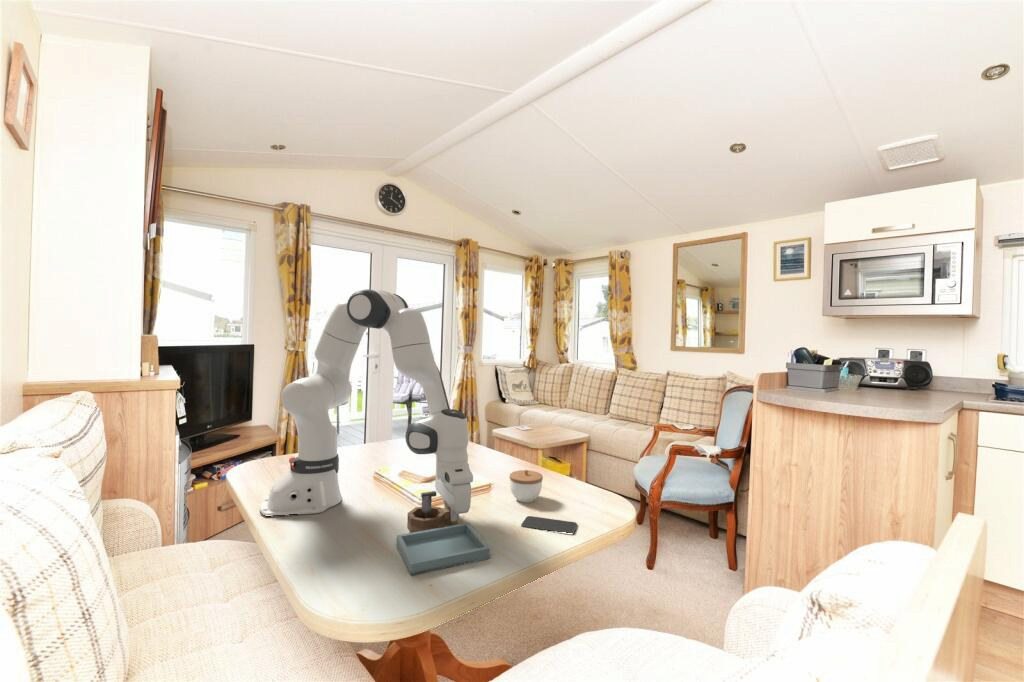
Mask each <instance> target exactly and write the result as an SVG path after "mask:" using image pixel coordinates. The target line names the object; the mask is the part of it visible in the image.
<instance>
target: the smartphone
mask: <svg viewBox="0 0 1024 682" xmlns="http://www.w3.org/2000/svg"><path fill="white" fill-rule="evenodd" d="M576 526H577V527H578V523H577V522H575V521H568V520H561V519H554V518H547V517H542V516H541V517H540V516H532V515H527V516H526V517H525V519H524V520H523V521H522V523H521V526H520V527H522V528H525V529H530V530H531V529H532V530H533V529H534V530H537V529H538V531H543V530H547V531H546V532H549V531H557V532H566V533H573V532H574V531H575V532H576V530H575V528H576ZM576 529H577V528H576Z"/></svg>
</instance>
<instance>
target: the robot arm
mask: <svg viewBox="0 0 1024 682" xmlns="http://www.w3.org/2000/svg"><path fill="white" fill-rule="evenodd" d="M368 328H371V329H378V330H380V329H383V330H384V331H386V332H387V333H388V336H389V339H390V345H391V353H392V358H393V363H394V365H395V367H396V370H397V371H398V372H399V373H400V374H401V375H403V376H404V377H406V378H408V379H412V380H413V381H415V382H416V383H417V384H418V385H420V387H421V388H422V390H423V392H424V396H425V400H426V405H427V407H428V411H429V415H428V416H429V417H426V418H422V419H419V420H417V421H414V422H412V423H411V424H409V426H408V427H407V429H406V431H405V435H404V437H405V443H406V445H407V447H408V448H409V450H410V451H411V452H412V453H414V454H416V455H430V454H434V455H435V459H436V460H435V482H434V483H435V485H434V487H435V491H436V493H438V494H439V495H440V496H441V498H442V502H443V508H446V507H451V513H450V517H449V518H450V520H451V521H456V520H457V514H459V515H460V514H465V513H466V514H467V513H469V512H470V511H469V510H470V508H471V502H472V501H471V500H472V485H471V483H473V482H474V475H473V473H472V471H471V469H470V465H469V464H470V463H468V462H469V455H468V446H469V438H470V437H469V423H468V417H467V415H466V414H465V413H464V412H463V411H460V410H458V409H451V408H450V404H449V400H448V397H447V393H446V389H445V385H444V381H443V377H442V375H441V372H440V370H439V366H438V365H437V363H436V361H435V357H434V355H433V350H432V349H433V348H432V344H431V339H430V335H429V332H428V331H429V330H428V327H427V324H426V321H425V317H424V316H423V314H422V313H421V312H420V311H419V310H418V309H416V308H411V307H409V304H408V303H407V301H406V300H405V299H404V298H403V297H402V296H400V295H398V294H396V293H391V292H389V291H386V290H377V289H375V290H374V289H368V288H366V289H359V290H357V291H354V293H352V294H351V295H350V297H349V298H348V300H347V299H346V300H341V301H339V302H338V303H337V305H336V306H335V307H334V309H333V310H332V312H331V313H330V315H329V317H328V319H327V321H326V323H325V325H324V327H323V330H322V333H321V335H320V337H319V340H318V343H317V345H316V348H315V350H314V357H315V359H316V360H317V369H316V372H315V374H314V375H313V376H307V377H300V378H298V379H296V380H294V381H292V382H290V383H288V384H287V385H286V386H285V387H283V389H282V391H281V397H280V401H281V405H282V407H283V409H284V410H285V411H286V412H287V413H288V414H290V415H291V417H292V419H293V421H294V423H295V427H296V430H297V456H294V455H292V456H290V457H289V458H288V463H289V465H290V467H289V469H290V470H289V471H287V472H286V473H285V474H284V475H283V476H281V477H280V478H278V480H276V481H275V482H274V483H273V484H272V486H271V488H270V490H269V494H268V497H266V498H265V499H264V500H263V501H261V503H260V505H259V512H260V511H261V513H262V514H264V515H285V516H290V515H289V514H298V515H310V514H321V513H323V512H325V511H326V510H327V509H329V508H332V507H334V506H336V505H338V504H339V503H340V502H342V499H343V497H342V494H341V490H340V484H339V476H338V475H339V469H340V467H339V466H340V457H339V454H338V429H337V427H336V426H334V425H333V424H332V422H331V418H330V415H329V410H330V409H334V408H338V407H339V406H341V405H342V404H343V403H345V402H347V400H349V398H351V395H352V392H353V391H352V383H351V381H350V375H351V374H350V373H351V368H352V365H353V364H352V363H353V361H354V360H355V359H354V358H355V356H356V354H357V351H358V349H359V346H360V344H361V341H362V339H363V337H364V333H365V332H366V330H367V329H368ZM261 513H260V514H261ZM262 514H261V515H262ZM287 514H288V515H287Z"/></svg>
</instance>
